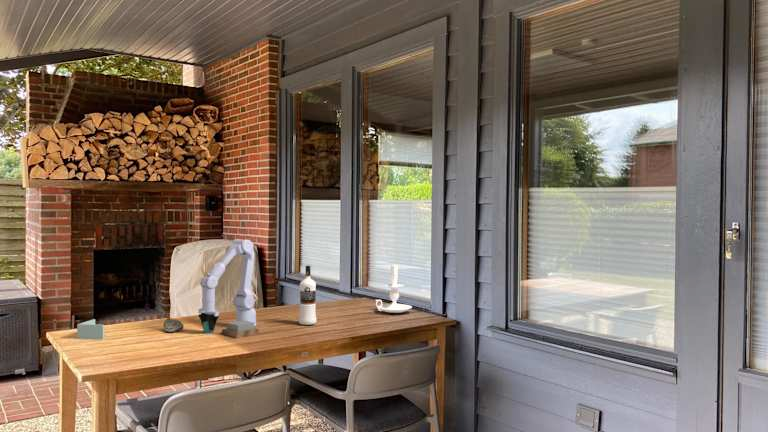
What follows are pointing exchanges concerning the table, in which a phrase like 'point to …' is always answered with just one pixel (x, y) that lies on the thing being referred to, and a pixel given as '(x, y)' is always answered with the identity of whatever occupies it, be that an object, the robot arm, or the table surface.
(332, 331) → the table surface
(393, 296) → the candlestick
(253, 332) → the walnut base slab
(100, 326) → the right angle wall
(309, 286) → the vodka
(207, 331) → the teal cylinder
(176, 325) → the rock sample
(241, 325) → the gray top slab
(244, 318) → the robot arm
